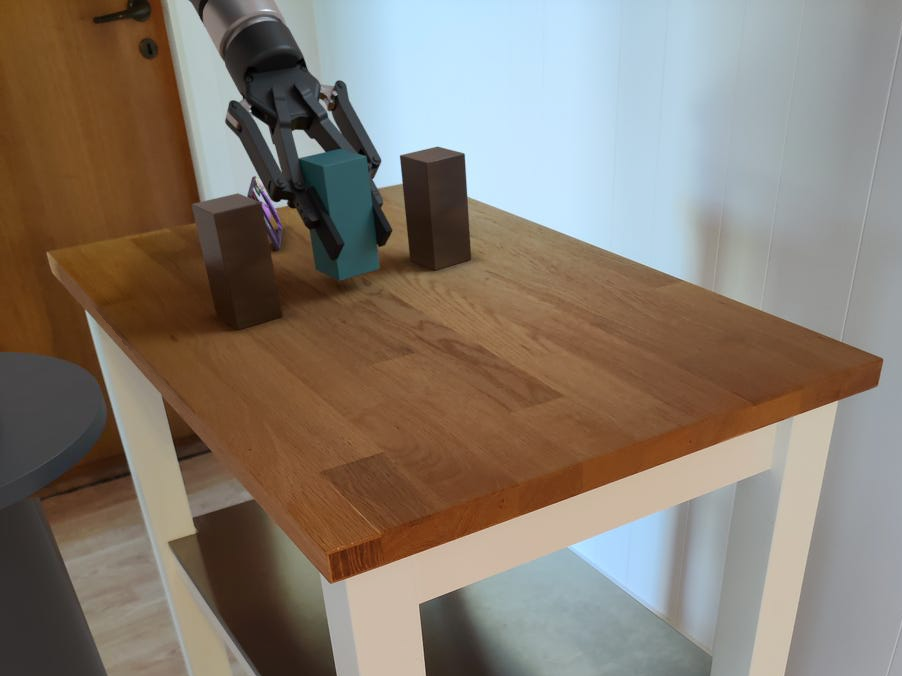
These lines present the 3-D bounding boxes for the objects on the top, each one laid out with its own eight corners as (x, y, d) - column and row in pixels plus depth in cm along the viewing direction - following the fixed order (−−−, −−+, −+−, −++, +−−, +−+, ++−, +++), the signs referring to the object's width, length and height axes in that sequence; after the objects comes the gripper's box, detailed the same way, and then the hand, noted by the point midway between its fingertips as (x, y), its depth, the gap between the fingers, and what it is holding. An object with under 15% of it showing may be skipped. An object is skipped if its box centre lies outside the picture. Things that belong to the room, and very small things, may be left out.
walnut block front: (238, 330, 98) (213, 214, 91) (216, 317, 101) (190, 203, 95) (282, 316, 100) (261, 202, 94) (260, 304, 104) (238, 192, 97)
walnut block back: (435, 270, 109) (426, 162, 102) (409, 260, 112) (399, 155, 105) (471, 259, 111) (465, 153, 104) (445, 250, 114) (437, 146, 108)
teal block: (339, 281, 102) (322, 166, 96) (315, 269, 106) (297, 158, 99) (380, 269, 105) (366, 156, 98) (355, 258, 108) (340, 148, 101)
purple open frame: (255, 191, 114) (260, 172, 121) (216, 211, 114) (223, 191, 121) (285, 246, 118) (288, 225, 125) (246, 265, 118) (251, 243, 125)
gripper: (323, 58, 108) (422, 245, 108) (169, 86, 100) (276, 288, 100) (341, 4, 102) (447, 203, 101) (177, 29, 94) (292, 245, 93)
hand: (362, 245), depth 101 cm, fingers closed on teal block, 5 cm apart
